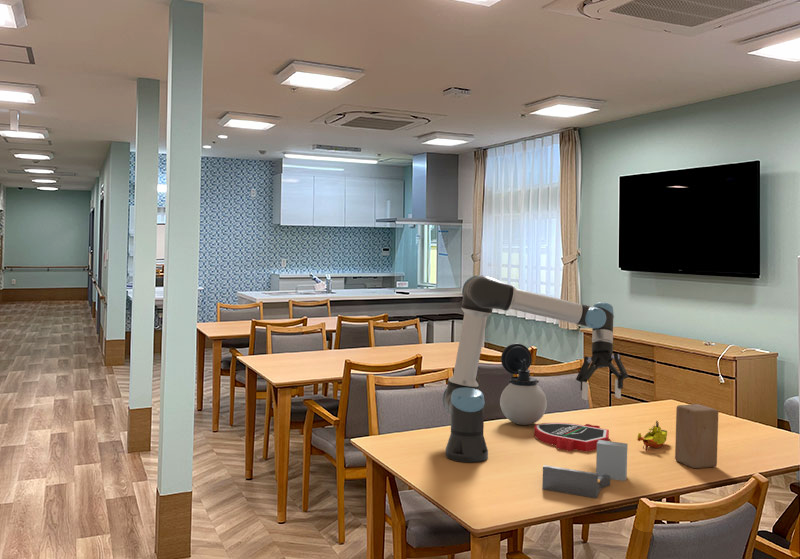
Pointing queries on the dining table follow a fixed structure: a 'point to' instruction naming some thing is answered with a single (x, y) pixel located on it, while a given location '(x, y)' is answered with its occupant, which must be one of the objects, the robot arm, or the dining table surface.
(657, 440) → the toy submarine
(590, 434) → the emblem
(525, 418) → the light fixture
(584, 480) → the rack
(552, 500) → the dining table surface
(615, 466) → the panel
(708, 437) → the wooden block
